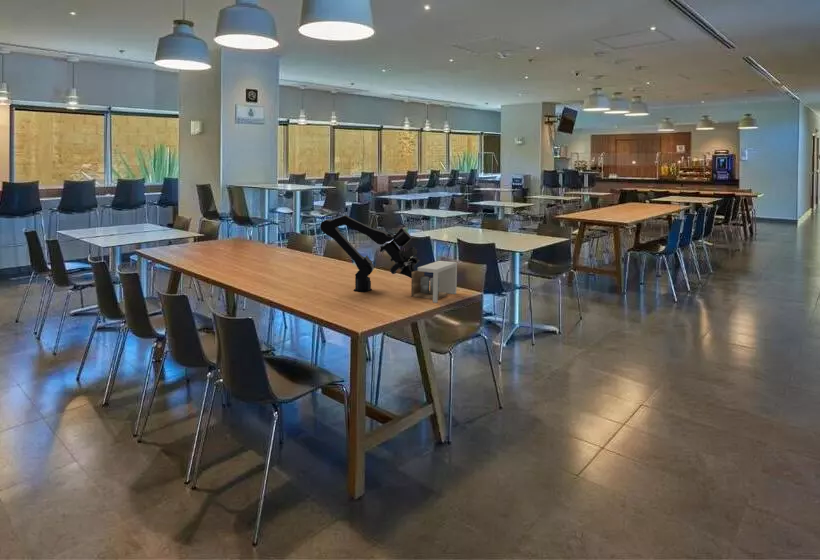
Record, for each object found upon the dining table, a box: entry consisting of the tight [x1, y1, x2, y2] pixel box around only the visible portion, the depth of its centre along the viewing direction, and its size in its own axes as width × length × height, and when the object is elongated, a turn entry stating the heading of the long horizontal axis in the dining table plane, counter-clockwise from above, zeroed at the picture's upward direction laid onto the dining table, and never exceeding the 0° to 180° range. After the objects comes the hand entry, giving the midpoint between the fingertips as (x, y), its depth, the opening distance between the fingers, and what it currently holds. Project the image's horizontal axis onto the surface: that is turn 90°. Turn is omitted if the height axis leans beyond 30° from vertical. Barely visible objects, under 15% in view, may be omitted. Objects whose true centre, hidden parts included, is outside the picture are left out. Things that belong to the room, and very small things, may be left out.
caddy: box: [410, 269, 448, 300], centre depth 269 cm, size 13×10×11 cm
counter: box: [417, 260, 458, 304], centre depth 267 cm, size 9×21×14 cm, turn 152°
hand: (416, 279), depth 272 cm, fingers closed, pressing on caddy
